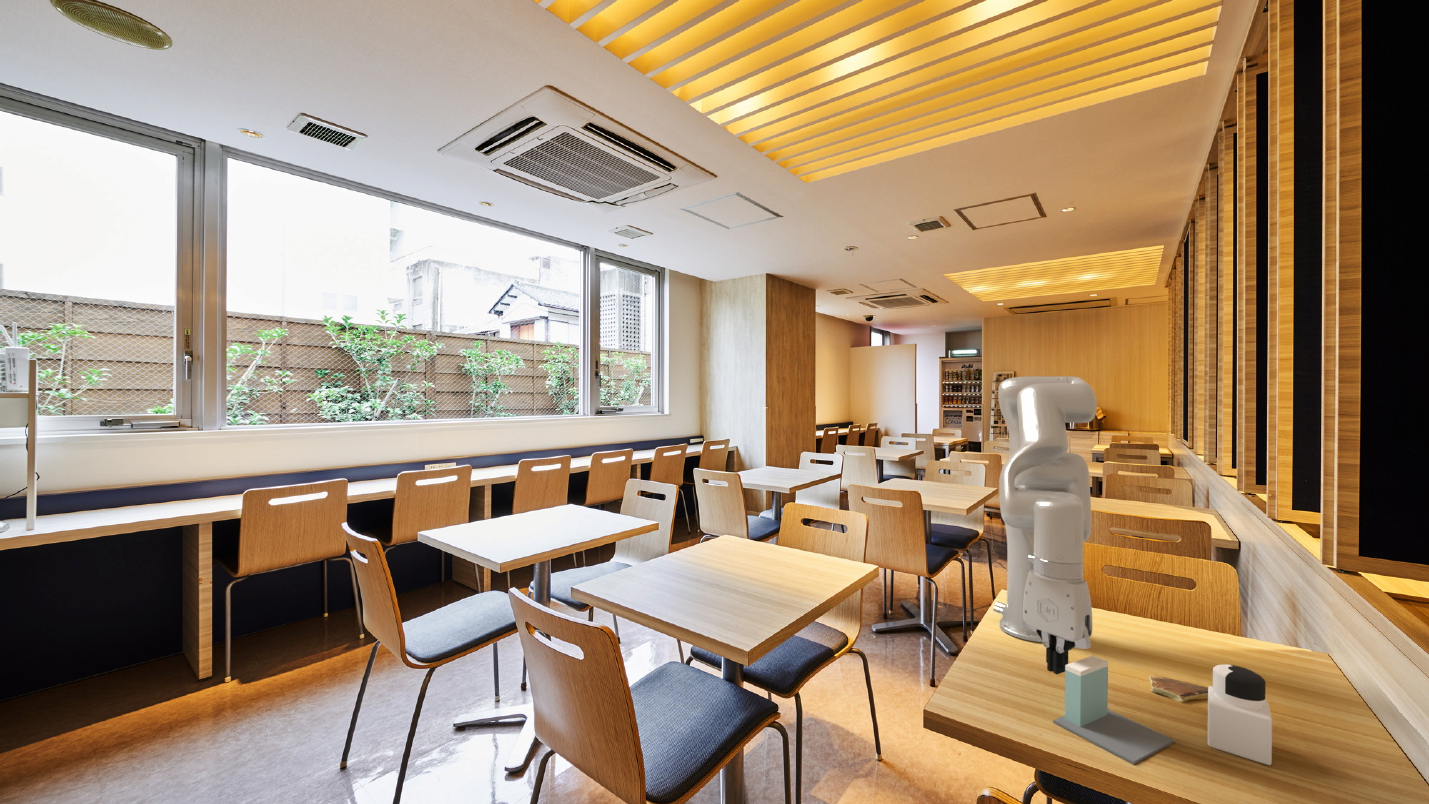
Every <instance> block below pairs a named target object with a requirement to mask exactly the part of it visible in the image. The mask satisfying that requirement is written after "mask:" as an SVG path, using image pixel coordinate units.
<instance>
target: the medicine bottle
mask: <svg viewBox="0 0 1429 804" xmlns="http://www.w3.org/2000/svg"><path fill="white" fill-rule="evenodd" d="M1207 687H1208V698H1207V746H1208V747H1210V748H1213V749H1215V750H1216V749H1217V750H1219V751H1223V752H1225V753H1228V754H1231V755H1235V756H1238V757H1241V758H1244V759H1248V760H1250V761H1254V762H1257V763H1260V764H1263V765H1267V766H1271V765H1272V763H1273V762H1272V761H1273V760H1272V757H1273V756H1272V754H1273V751H1272V750H1273V745H1272V744H1273V718H1272V714H1271V709H1270V703H1269V701H1268V700H1266V690H1267V689H1266V687H1267V686H1266V680H1265V679H1264V678H1263V676H1262V675H1260V674H1259V673H1257V672H1255V671H1254V670H1253V671H1252V670H1251V669H1248V668H1246V667H1244V666H1243V667H1242V666H1239V665H1235V664H1217V665H1215V666H1213V668H1212V685H1209V686H1207Z"/></svg>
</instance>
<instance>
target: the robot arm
mask: <svg viewBox="0 0 1429 804" xmlns="http://www.w3.org/2000/svg"><path fill="white" fill-rule="evenodd" d="M997 391H998V392H997V395H998V396H997V397H998V403H999V404H998V405H999V409H1000V412H1001V414H1002V417H1003V419H1004V422H1005V424H1006V427H1007V430H1008V436H1009V439H1008V440H1009V458H1008V459H1007V460H1006V461H1005V463H1004V465H1003V466H1002V469H1001V470H1000V474H999V481H998V482H999V483H998V486H999V487H998V488H999V491H998V492H999V509H1000V510H999V511H1000V515H1001V518H1002V521H1003V522H1004V526H1005V532H1006V545H1007V546H1006V547H1007V549H1006V550H1007V556H1006V557H1007V559H1006V560H1007V566H1006V568H1007V573H1006V574H1007V575H1006V577H1007V578H1006V579H1007V581H1006V584H1007V585H1006V586H1007V587H1006V604H1005V603H1003V602H1002V601H1001V602H1000V601H996V602H995V603H994V606H993V609H992V610H993V611H994V612H995V613H998V614H1001V615H1002V618H1001V619H1000V620H999V628H1000V629H1001V630H1002V631H1003V632H1004V633H1007V634H1008V635H1010V636H1013V637H1015V638H1017V639H1020V640H1025V641H1031V642H1035V643H1036V642H1037V643H1042V645H1043V647H1045V651H1046V653H1045V662H1046V665H1047V666H1046V670H1047V671H1048V672H1051V673H1053V674H1055V675H1059V674H1062V673H1065V665H1067V664H1069V651H1071V650H1073V649H1074V648H1075V649H1083V650H1086V649H1087V650H1088V649H1089V648H1092V644H1091V639H1090V637H1092V634H1093V609H1092V600H1091V594H1090V589H1089V586H1088V582H1087V580H1085V579H1084V544H1085V543H1084V542H1086V541H1087V540H1088V539H1090V537H1091V534H1092V524H1093V523H1092V502H1091V500H1092V499H1091V482H1090V481H1091V479H1090V471H1089V466H1088V464H1087V462H1086V459H1085V458H1084V457H1083V456H1082V455H1080V454H1078V453H1074V452H1068V450H1069V440H1068V436H1067V435H1068V434H1067V428H1066V423H1070V424H1071V423H1074V424H1085V423H1090V422H1092V421H1093V420H1094V419H1095V417H1096V414H1097V409H1098V404H1097V403H1098V401H1097V397H1096V394H1095V391H1094V390H1093V388H1092V386H1091V385H1090V384H1089V383H1088V382H1086V381H1085V380H1084V379H1082V378H1081V377H1079V376H1071V375H1070V376H1064V375H1063V376H1059V375H1057V376H1039V375H1037V376H1034V375H1033V376H1014V377H1011V378H1006V379H1004V380H1002V381H1001V383H1000V384H999V386H998V390H997Z"/></svg>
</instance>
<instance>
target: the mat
mask: <svg viewBox="0 0 1429 804" xmlns="http://www.w3.org/2000/svg"><path fill="white" fill-rule="evenodd" d="M1052 722H1053V724H1055V725H1057V726H1059V727H1061V728H1063V729H1064V730H1067V731H1069V732H1071V733H1072V734H1073V735H1076V736H1079V738H1082V739H1084V740H1086V741H1088V742H1089V743H1092V744H1094V745H1095V746H1097V747H1099V748H1101V749H1103V750H1105V751H1107V752H1109V753H1111V754H1112V755H1114V756H1116V757H1118V758H1120V759H1122V760H1124V761H1126V762H1127V763H1130V764H1132V765H1135V764H1137V763H1139V762H1141V761H1143V760H1144V759H1146V758H1149V757H1150V756H1153V754H1156V753H1157V752H1159V751H1161V750H1163V749H1165V748H1167V747H1168V746H1170V745H1172V744H1174V743H1175V739H1173V738H1172V737H1169V736H1167V735H1165V734H1162V733H1161V732H1158V731H1156V730H1154V729H1152V728H1150V727H1148V726H1145V725H1143V724H1141V723H1139V722H1136V721H1135V720H1132V719H1130V718H1127V717H1126V716H1123V715H1121V714H1119V713H1117V712H1116V711H1113V710H1111V709H1108V715H1106V716H1104V717H1101V718H1099V719H1097V720H1095V721H1092V722H1090V723H1088V724H1086V725H1084V726H1081V727H1079V726H1077V725H1075V724H1073V723H1071V722H1069V721H1067V720H1065V715H1062V716H1059V717H1057V718H1056V719H1053V721H1052Z"/></svg>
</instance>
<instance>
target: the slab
mask: <svg viewBox="0 0 1429 804" xmlns="http://www.w3.org/2000/svg"><path fill="white" fill-rule="evenodd" d="M1064 675H1065V677H1064V716H1065V720H1067V721H1069V722H1071V723H1073V724H1075V725H1077V726H1079V727H1081V726H1084V725H1086V724H1088V723H1090V722H1092V721H1095V720H1097V719H1099V718H1101V717H1104V716H1106V715H1108V708H1109V707H1108V704H1109V702H1108V701H1109V700H1108V697H1109V696H1108V695H1109V661H1108V660H1106V659H1103V658H1101V657H1097V656H1095V655H1090V656H1087V657H1084V658H1082V659H1078V660H1076V661H1073V662H1071V663H1068V664H1067V665H1065V672H1064Z"/></svg>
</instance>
